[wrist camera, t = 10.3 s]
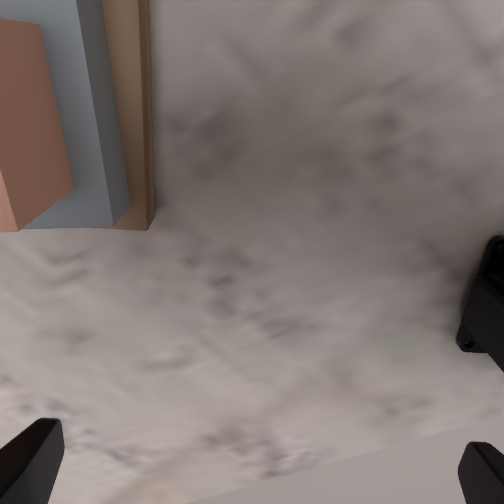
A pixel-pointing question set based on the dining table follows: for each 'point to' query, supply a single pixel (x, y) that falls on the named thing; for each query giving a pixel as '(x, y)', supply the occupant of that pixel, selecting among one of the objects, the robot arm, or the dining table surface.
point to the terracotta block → (28, 129)
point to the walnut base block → (133, 103)
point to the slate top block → (80, 110)
